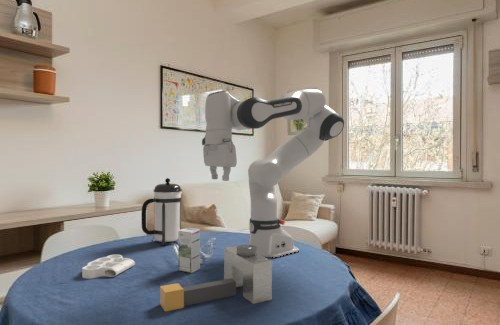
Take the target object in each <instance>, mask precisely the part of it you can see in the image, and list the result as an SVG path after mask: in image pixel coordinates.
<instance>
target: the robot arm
mask: <svg viewBox="0 0 500 325" xmlns="http://www.w3.org/2000/svg"><path fill="white" fill-rule="evenodd" d="M326 103H327V101H326V97H325V94H324V92H322V91H321V90H320V89H315V88H308V89H307V88H306V89H303V88H302V89H296V90H293V91H290V92H287V93H284V94H282V95H281V97H280V98H278V99H270V100H266V99H262V98H260V97H255V96H254V97H253V96H252V97H249V98H247V99H245V100H239V99H238V98H235V97H234V96H233V95H231V94H230V92H229V91H228V90H227V91H225V90H221V91H219V90H218V91H216V92H215V91H214V92H211V93H210V94H208V95H207V96H206V99H205V107H204V114H205V115H204V118H205V123H206V126H205V135H204V136H203V138H202V140H201V145H202V152H203V153H202V154H203V162H204V165H205V167H209V171H210V175H211V179H212V180H218V178H219V175H218V173H217V172H218V171H217V169H218V167H220V168H222V171H223V174H222V181H224V182H228V181H229V180H230V173H231V169H232V168H235V167H236V166H237V160H238V159H237V150H236V146H235V144H234V141H233V137H232V136H233V133H232V132H233V131H232V130H236V131H244V130H252V129H260V128H262V127H264V126H265V125H266V124H268V123H269V122H270V121H271V120H275V119H279V118H284V120H288V121H295V120H301V121H302V122H304V123H305V124H306V125H307V126H306V128H305V129H303V130H301V131H300V132H298V133H296V134H294V135H293V136H291V137H290V138H289V139H287V140H286V141H285V142H283V143H282V144H280V145H278V147H276V149H274V150H273V152H271V153H270V154H269V155H267V156H266V157H265V158H263V159H257V160H254V161H253V162H251V164H250V165H249V167H248V170H247V172H248V173H247V174H248V187H249V195H250V196H249V197H250V218H249V224H248V225H249V226H248V227H249V240H248V244H247V245H253V246H256V247H257V254H259V255H261V256H263V257H265V258H272V257H273V258H272V259H274V258H275V257H277V258H280V256H281V257H284V256H287V255H286V254H288V255H291V254H290V253H292V254H295V253H294V252H296V253H299V252H300V249H299V248H298V247H297V246H295V245H294V244H295V243H294V239H293V236H292V235H291V234H289V233H288V232H287V231H286V230H284V228H282V227H281V225H282V226H283V225H285V223H286V221H285V219H279V218H278V200H277V196H276V191H275V186H276V185H277V184H279V183H280V182H281V180H282V179H284V178H285V177H286V176H287V175H288V174H289V173H290V172H291V171H292V170H293V169H294V168H295V167H297V166H298V165H300V164H301V163H303V162H304V161H305V160H306V159H308V158H309V157H311V156H312V155H313V154H314V153H315V152H317V151H318V150H319V149H320V148H321V147H322V146H323V145H324V142H325V141H329V140H332V139H333V138H336V137H338V136H339V135H340V134H341V133H342V131H343V129H344V127H345V120H344V119H343V117H342V116H341V114H339V113H338V112H336V111H335V110H334V109H332V108H331V107H330V106H328V105H326ZM229 182H230V181H229ZM298 251H299V252H298ZM283 255H284V256H283Z"/></svg>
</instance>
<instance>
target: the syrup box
mask: <svg viewBox="0 0 500 325" xmlns="http://www.w3.org/2000/svg"><path fill="white" fill-rule="evenodd" d="M177 243H178V247H177V248H178V249H177V250H178V251H177V253H178V255H177V256H178V257H177V258H178V264H177V265H178V267H177V268H178V269H177V270H178V271H179V272H185V273H190V274H192V273H195V272H196V271H198V270H200V269H201V229H200V228H193V227H184V228H181V230H178V240H177Z"/></svg>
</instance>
